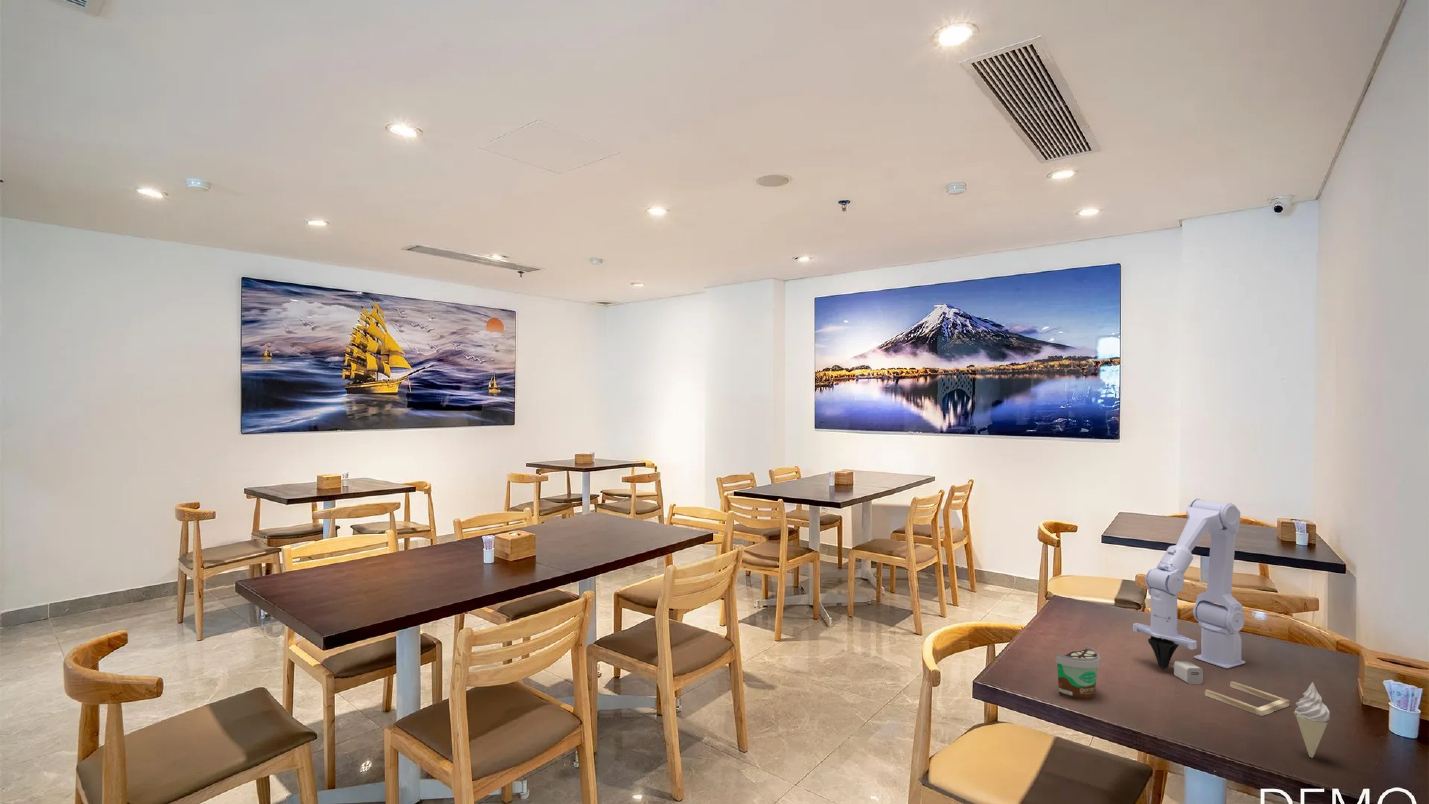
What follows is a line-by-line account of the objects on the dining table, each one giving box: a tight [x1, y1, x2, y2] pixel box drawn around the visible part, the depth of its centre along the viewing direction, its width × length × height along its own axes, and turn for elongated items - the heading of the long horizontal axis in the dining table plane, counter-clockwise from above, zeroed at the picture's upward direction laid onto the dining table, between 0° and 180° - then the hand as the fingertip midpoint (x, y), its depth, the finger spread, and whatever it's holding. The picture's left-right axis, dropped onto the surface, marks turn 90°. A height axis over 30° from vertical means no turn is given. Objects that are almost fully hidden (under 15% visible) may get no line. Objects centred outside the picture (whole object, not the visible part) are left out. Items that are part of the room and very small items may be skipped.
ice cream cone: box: [1293, 681, 1331, 759], centre depth 123 cm, size 5×5×15 cm
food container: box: [1055, 645, 1102, 701], centre depth 149 cm, size 12×6×10 cm, turn 117°
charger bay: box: [1204, 681, 1291, 717], centre depth 147 cm, size 12×11×1 cm
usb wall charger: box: [1169, 660, 1204, 685], centre depth 160 cm, size 4×7×4 cm, turn 0°
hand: (1163, 667), depth 164 cm, fingers closed
